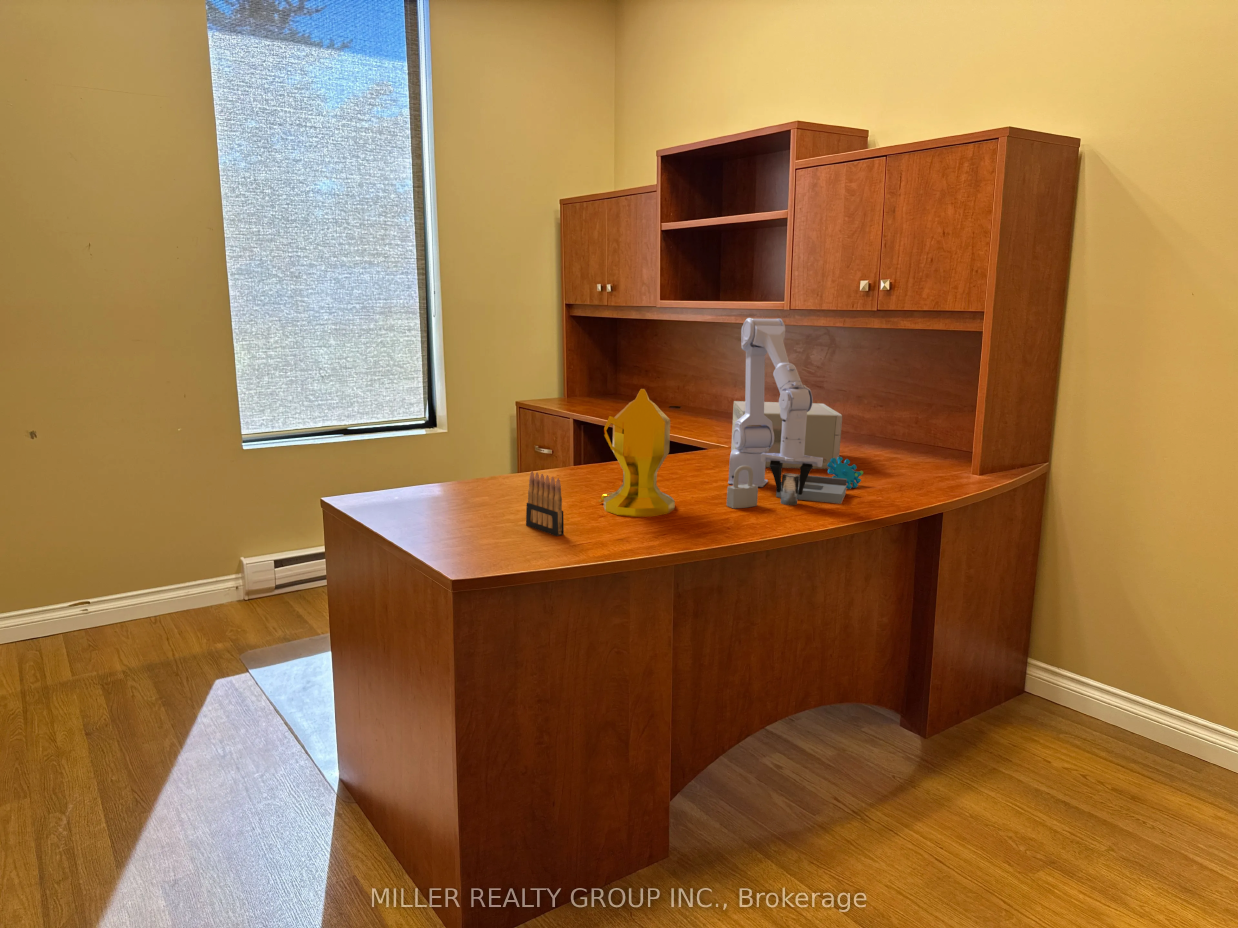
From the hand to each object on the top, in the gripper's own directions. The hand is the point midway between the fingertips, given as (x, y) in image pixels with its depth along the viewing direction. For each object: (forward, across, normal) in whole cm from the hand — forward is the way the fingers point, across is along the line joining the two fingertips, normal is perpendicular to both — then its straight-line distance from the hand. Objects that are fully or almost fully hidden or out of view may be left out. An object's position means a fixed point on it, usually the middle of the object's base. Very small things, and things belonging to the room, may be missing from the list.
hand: (789, 492), depth 208 cm
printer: (+3, -11, +57) cm, 58 cm away
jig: (+3, +4, +11) cm, 12 cm away
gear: (+3, +11, +26) cm, 29 cm away
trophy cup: (+3, -33, -20) cm, 39 cm away
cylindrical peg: (+3, 0, 0) cm, 3 cm away
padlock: (+3, -10, -8) cm, 13 cm away
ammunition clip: (+3, -44, -47) cm, 64 cm away
